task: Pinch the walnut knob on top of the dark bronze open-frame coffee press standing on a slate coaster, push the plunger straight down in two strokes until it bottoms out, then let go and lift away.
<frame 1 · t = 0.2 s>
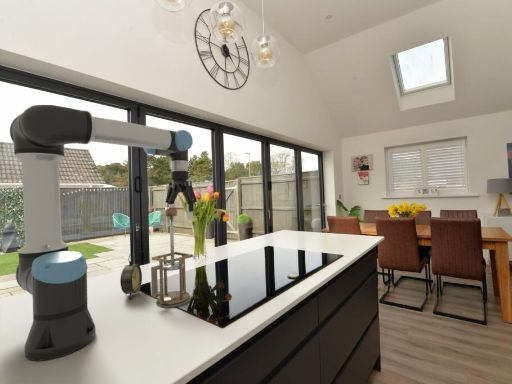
hand: (180, 218, 117), 28 cm above the kitchen island, fingers open, 13 cm apart
alarm clock: (131, 296, 103), on the kitchen island
press frame: (173, 300, 97), on the kitchen island
plunger: (171, 237, 97), point 23 cm above the kitchen island, slide at 0.0 cm
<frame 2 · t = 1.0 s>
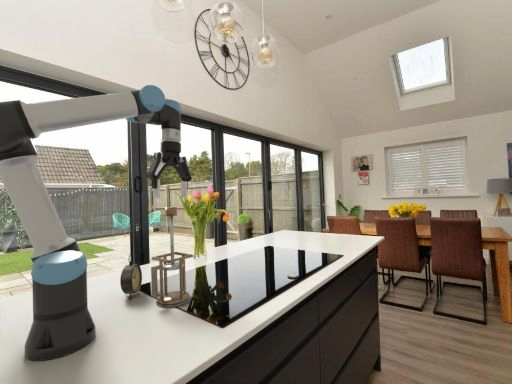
hand: (171, 197, 100), 38 cm above the kitchen island, fingers open, 13 cm apart
nothing on the kitchen island moved.
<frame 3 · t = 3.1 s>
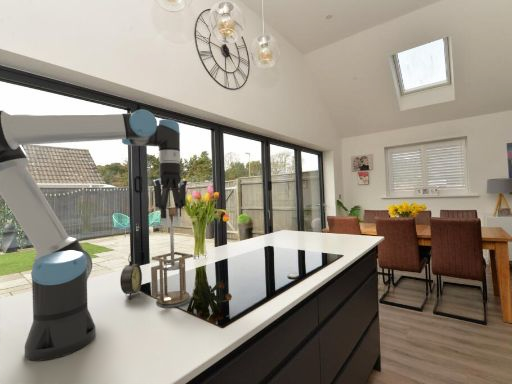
hand: (171, 226, 97), 27 cm above the kitchen island, fingers closed on plunger, 4 cm apart
plunger: (171, 237, 97), point 23 cm above the kitchen island, slide at 0.0 cm, touching gripper
everything else where it was.
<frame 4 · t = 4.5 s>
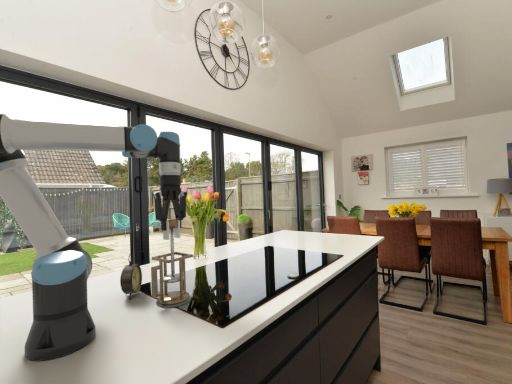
hand: (171, 238, 97), 23 cm above the kitchen island, fingers closed on plunger, 4 cm apart
plunger: (172, 249, 97), point 19 cm above the kitchen island, slide at 4.3 cm, touching gripper
everything else where it was.
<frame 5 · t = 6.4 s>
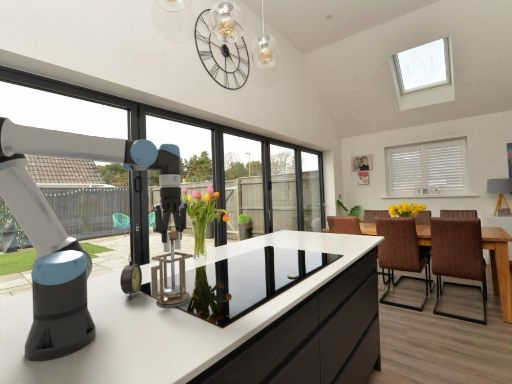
hand: (172, 250, 97), 18 cm above the kitchen island, fingers closed on plunger, 4 cm apart
plunger: (172, 261, 97), point 14 cm above the kitchen island, slide at 8.7 cm, touching gripper
everything else where it was.
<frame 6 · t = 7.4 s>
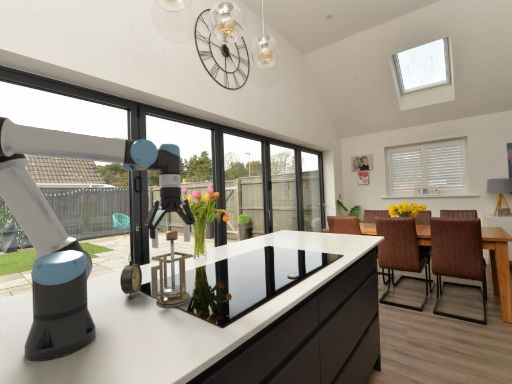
hand: (172, 244, 97), 21 cm above the kitchen island, fingers open, 13 cm apart
plunger: (172, 261, 97), point 14 cm above the kitchen island, slide at 8.7 cm
everything else where it was.
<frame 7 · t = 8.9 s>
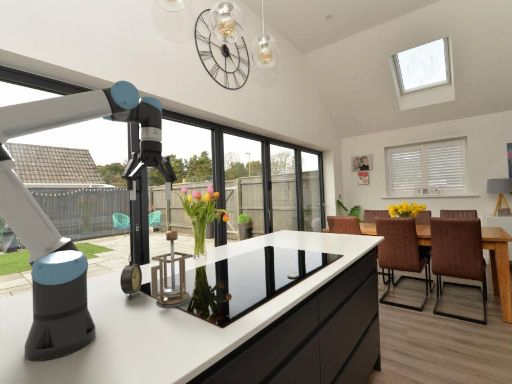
hand: (151, 199, 96), 37 cm above the kitchen island, fingers open, 13 cm apart
nothing on the kitchen island moved.
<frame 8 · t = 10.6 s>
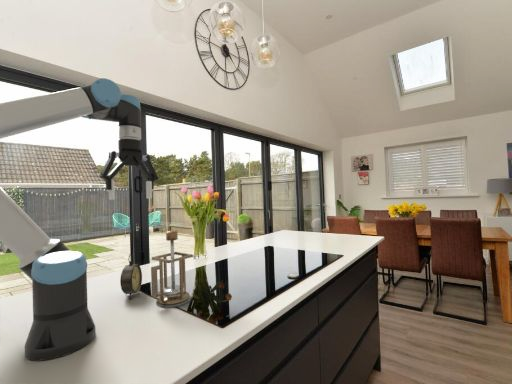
hand: (131, 199, 94), 38 cm above the kitchen island, fingers open, 13 cm apart
nothing on the kitchen island moved.
at the end: plunger slide at 8.7 cm; the gripper is holding nothing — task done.
